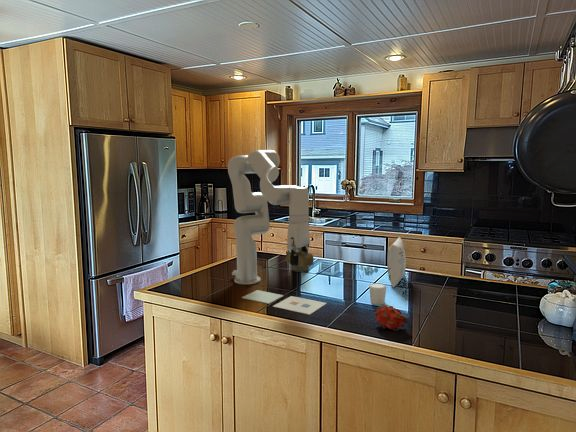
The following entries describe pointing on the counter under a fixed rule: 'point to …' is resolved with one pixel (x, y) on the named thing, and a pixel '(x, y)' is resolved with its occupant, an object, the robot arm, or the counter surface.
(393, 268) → the pouch
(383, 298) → the white cylinder
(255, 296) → the pale green pad
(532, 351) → the counter surface
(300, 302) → the tile
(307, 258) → the stone block
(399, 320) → the dragon fruit
